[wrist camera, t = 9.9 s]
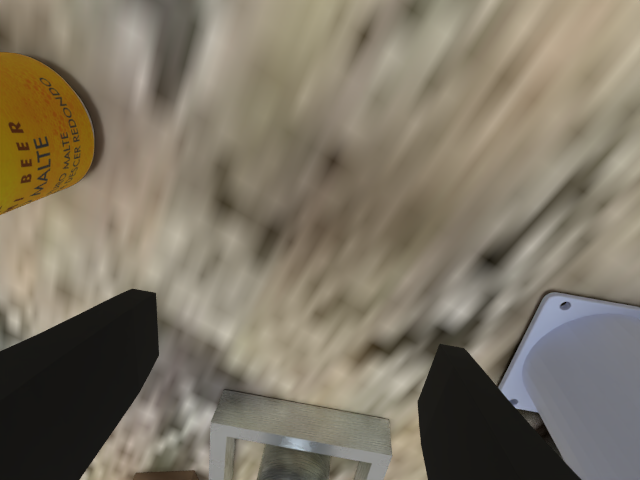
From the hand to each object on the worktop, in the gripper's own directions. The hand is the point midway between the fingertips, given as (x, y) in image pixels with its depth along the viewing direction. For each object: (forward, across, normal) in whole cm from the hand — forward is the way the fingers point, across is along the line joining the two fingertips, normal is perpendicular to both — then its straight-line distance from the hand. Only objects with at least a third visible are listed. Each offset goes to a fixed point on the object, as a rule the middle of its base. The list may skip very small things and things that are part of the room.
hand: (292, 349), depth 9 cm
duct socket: (+10, -1, +19) cm, 21 cm away
